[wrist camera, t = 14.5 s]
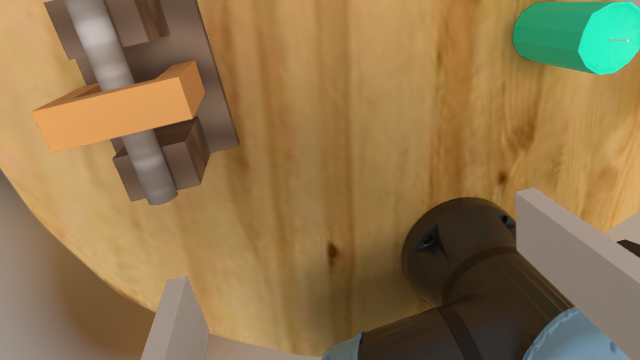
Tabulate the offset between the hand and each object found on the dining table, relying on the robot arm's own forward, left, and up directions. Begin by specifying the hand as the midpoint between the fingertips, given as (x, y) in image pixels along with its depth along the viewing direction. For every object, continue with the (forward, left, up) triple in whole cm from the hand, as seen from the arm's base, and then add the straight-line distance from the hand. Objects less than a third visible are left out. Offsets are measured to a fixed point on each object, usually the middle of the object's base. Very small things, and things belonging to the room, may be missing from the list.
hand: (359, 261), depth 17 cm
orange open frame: (+5, +13, -26) cm, 30 cm away
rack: (+5, +13, -31) cm, 34 cm away
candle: (+1, -27, -31) cm, 41 cm away
